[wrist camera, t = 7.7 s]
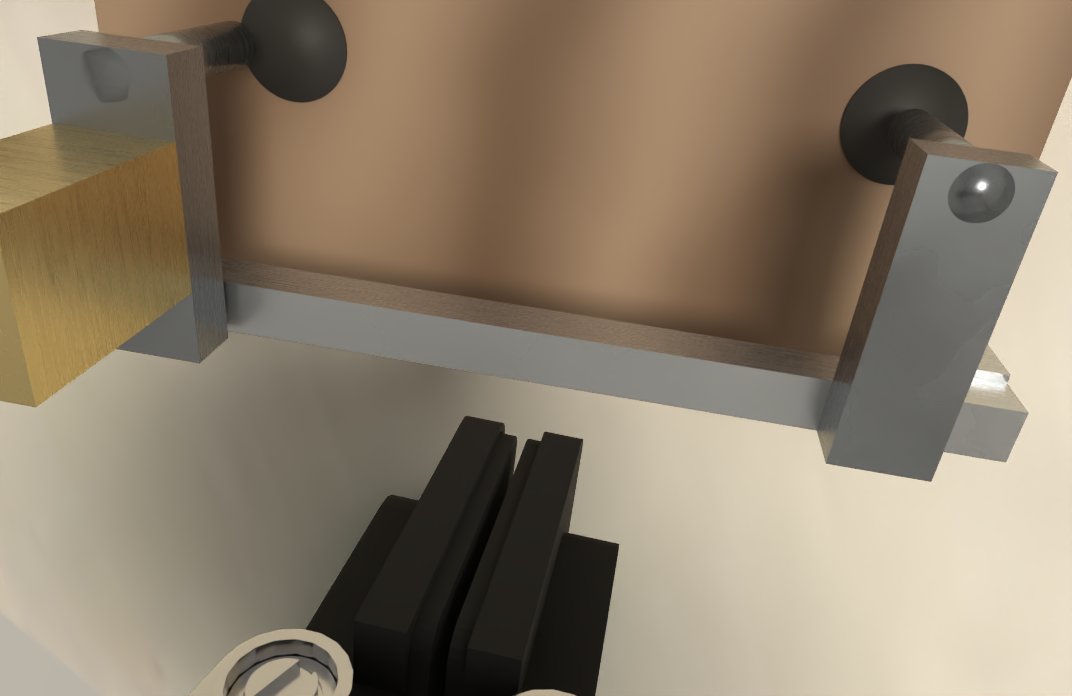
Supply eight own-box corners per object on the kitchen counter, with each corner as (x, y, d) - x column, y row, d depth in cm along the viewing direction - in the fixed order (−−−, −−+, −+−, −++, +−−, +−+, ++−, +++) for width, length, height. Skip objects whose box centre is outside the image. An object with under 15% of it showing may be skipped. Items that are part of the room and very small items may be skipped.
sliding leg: (283, 27, 18) (-32, 100, 10) (295, 278, 21) (54, 491, 13) (182, 14, 18) (-206, 76, 10) (207, 264, 21) (-83, 465, 13)
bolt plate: (1091, -62, 17) (1315, -61, 11) (910, 418, 23) (993, 592, 17) (111, -169, 19) (-151, -217, 13) (168, 295, 25) (4, 410, 19)
